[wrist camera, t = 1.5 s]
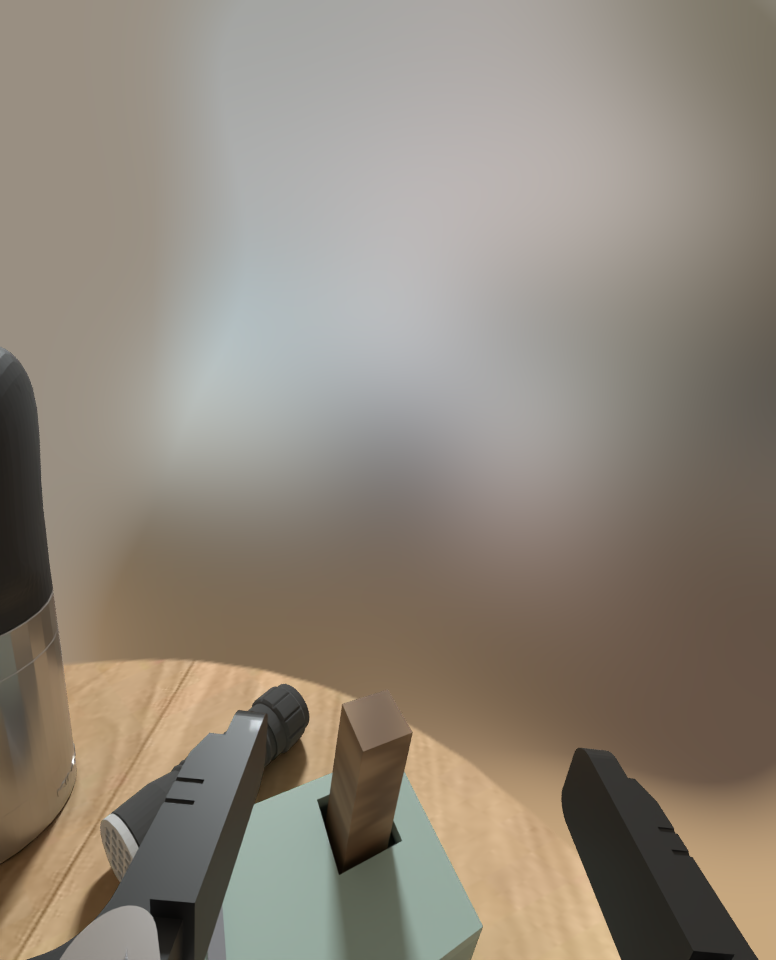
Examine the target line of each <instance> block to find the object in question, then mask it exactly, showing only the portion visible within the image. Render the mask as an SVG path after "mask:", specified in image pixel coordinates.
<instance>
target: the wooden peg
mask: <svg viewBox="0 0 776 960" xmlns="http://www.w3.org/2000/svg"><path fill="white" fill-rule="evenodd" d="M412 733H413V732H412V730H411V729H410V727H409V725H408V724H407V722H406V720H405V718H404V717H403V715H402V713H401V712H400V710H399V708H398V706H397V705H396V703H395V701H394V699H393V698H392V696H391V694H390V692H389V691H388V690H385V691H382V692H379V693H376V694H373V695H369V696H366V697H363V698H360V699H356V700H353V701H350V702H347V703H344V704H342V710H341V717H340V724H339V731H338V738H337V745H336V752H335V759H334V766H333V773H332V780H331V787H330V794H329V801H328V808H327V815H326V822H325V829H326V833H327V836H328V839H329V843H330V846H331V850H332V853H333V857H334V860H335V863H336V867H337V870H338V874H339V875H340V874H342V873H344V872H346V871H348V870H350V869H351V868H353V867H355V866H357V865H359V864H361V863H363V862H364V861H366V860H368V859H370V858H372V857H374V856H375V855H377V854H379V853H381V852H383V851H385V850H386V849H387V847H388V842H389V838H390V833H391V829H392V824H393V819H394V815H395V810H396V806H397V801H398V797H399V792H400V787H401V783H402V778H403V774H404V769H405V765H406V760H407V756H408V751H409V746H410V742H411V737H412Z"/></svg>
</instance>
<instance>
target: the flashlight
mask: <svg viewBox="0 0 776 960" xmlns="http://www.w3.org/2000/svg"><path fill="white" fill-rule="evenodd" d="M248 711H251V712H260V713H267V714H268V724H267V739H266V755H265V764H264V768H265V766H267V765H268V764H269V763H270V761H271V760H274V759H275V758H276V757H277V756H278V755H279V754H280V753H285V752H287V751H288V750H289V749H290V748H291V747H292V746H293V745H294V744H295V743H296V742H297V741H298V740H299V739H300V738H301V737H302V735H303V733H304V731H305V728H306V727H307V725H308V723H309V711H308V708H307V705H306V703H305V701H304V699H303V697H302V696H301V695H300V693H299V692H298V691H297V690H296V689H294V688H293V687H292V686H290V685H287V684H281V685H279V686H278V687H272V688H271V689H269V690H268V691H267V692H266V693H264V694H263V695H262V696H261V697H259V698H258V699H257V700H256V701H255V702H254V703H253V705H252V708H251V709H249V710H248ZM226 732H227V731H226ZM226 732H225V733H224V735H225V734H226ZM187 757H188V756H187ZM186 759H187V758H186ZM186 759H185V760H183V761H181V762H180V764H179V765H177V766H175V767H174V768H173V769H172V771H171V772H170V773H168V774H166V775H164V776H162V777H160V778H158V779H156V780H155V781H153V782H151V783H149V784H147V785H146V786H145V787H144V788H142V789H141V790H140V791H139V792H137V793H136V794H135V795H133V796H132V797H131V798H130V799H128V800H127V801H126V802H125V803H123V804H122V805H121V806H120V807H118V808H117V809H116V810H115V811H113V812H112V813H111V814H109V815H108V816H107V817H106V818H104V819H103V820H102V821H101V826H100V829H101V837H102V842H103V846H104V849H105V852H106V855H107V858H108V861H109V863H110V865H111V867H112V870H113V872H114V874H115V876H116V877H117V879H118V880H119V882H121V880H122V879H123V877H124V875H125V873H126V871H127V869H128V867H129V865H130V864H131V862H132V860H133V858H134V856H135V854H136V852H137V850H138V849H139V847H140V845H141V843H142V841H143V839H144V837H145V836H146V834H147V832H148V830H149V828H150V826H151V824H152V822H153V821H154V819H155V817H156V815H157V813H158V811H159V809H160V807H161V806H162V804H163V803H164V802H165V799H166V796H167V794H168V793H169V791H170V789H171V787H172V785H173V783H174V782H175V781H176V779H177V776H178V774H179V772H180V770H181V768H182V766H183V764H184V763H185V761H186Z"/></svg>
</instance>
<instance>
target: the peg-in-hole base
mask: <svg viewBox="0 0 776 960" xmlns="http://www.w3.org/2000/svg"><path fill="white" fill-rule="evenodd" d="M331 780H332V773H331V774H328V775H326V776H323V777H321V778H318V779H316V780H313V781H311V782H308V783H306V784H303V785H301V786H298V787H296V788H293V789H291V790H288V791H286V792H283V793H281V794H278V795H276V796H273V797H271V798H268V799H266V800H264V801H261V802H259V803H256V804H254V806H253V809H252V812H251V816H250V819H249V822H248V825H247V828H246V831H245V834H244V838H243V841H242V844H241V847H240V850H239V853H238V856H237V860H236V863H235V866H234V869H233V872H232V875H231V879H230V882H229V885H228V888H227V891H226V894H225V897H224V901H223V904H222V907H221V910H220V913H219V916H218V920H217V923H216V926H215V929H214V932H213V935H212V938H211V942H210V945H209V948H208V951H207V954H206V957H205V960H471V958H472V955H473V952H474V950H475V947H476V944H477V941H478V939H479V936H480V933H481V931H482V928H483V925H482V923H481V922H480V920H479V918H478V916H477V914H476V912H475V910H474V908H473V906H472V904H471V902H470V900H469V898H468V896H467V894H466V892H465V890H464V888H463V886H462V884H461V882H460V880H459V878H458V876H457V874H456V872H455V870H454V868H453V866H452V864H451V863H450V861H449V859H448V857H447V855H446V853H445V851H444V849H443V847H442V845H441V843H440V841H439V839H438V837H437V835H436V833H435V831H434V829H433V827H432V825H431V823H430V821H429V819H428V817H427V815H426V813H425V811H424V809H423V807H422V806H421V804H420V802H419V800H418V798H417V796H416V794H415V792H414V790H413V788H412V786H411V784H410V782H409V780H408V778H407V776H406V774H405V772H404V774H403V778H402V783H401V787H400V792H399V797H398V801H397V806H396V810H395V815H394V819H393V824H392V829H391V833H390V838H389V842H388V847H387V849H386V850H385V851H383V852H381V853H379V854H377V855H375V856H374V857H372V858H370V859H368V860H366V861H364V862H363V863H361V864H359V865H357V866H355V867H353V868H351V869H350V870H348V871H346V872H344V873H342V874H340V875H339V874H338V870H337V867H336V863H335V860H334V857H333V853H332V850H331V846H330V843H329V839H328V836H327V833H326V829H325V822H326V815H327V808H328V801H329V794H330V787H331Z"/></svg>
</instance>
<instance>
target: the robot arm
mask: <svg viewBox="0 0 776 960" xmlns="http://www.w3.org/2000/svg"><path fill="white" fill-rule="evenodd" d="M267 724H268V714H267V713H260V712H251V711H242V710H238V711H237V712H236V713H235V715H234V717H233V719H232V721H231V724H230V726H229V728H228V730H227V732H226V734H225V735H224V734H214V733H209V734H208V735H207V736H206V737H205V738H204V739H203V740H202V741H201V742H200V743H199V744H198V745H197V746H196V747H195V748H194V749H193V750H192V751H191V752H190V753H189V755H188V757H187V759H186V761H185V763H184V764H183V766H182V768H181V770H180V772H179V774H178V776H177V779H176V781H175V782H174V783H173V785H172V787H171V789H170V791H169V793H168V794H167V796H166V799H165V802H164V803H163V804H162V806H161V807H160V809H159V811H158V813H157V815H156V817H155V819H154V821H153V822H152V824H151V826H150V828H149V830H148V832H147V834H146V836H145V837H144V839H143V841H142V843H141V845H140V847H139V849H138V850H137V852H136V854H135V856H134V858H133V860H132V862H131V864H130V865H129V867H128V869H127V871H126V873H125V875H124V877H123V879H122V880H121V882H120V884H119V886H118V888H117V890H116V891H115V893H114V895H113V896H112V898H111V900H110V901H109V902H108V904H107V905H106V906H105V908H104V909H103V910H102V911H101V913H100V914H99V915H98V916H97V917H96V918H95V919H94V920H93V921H92V922H91V923H90V924H89V925H88V926H87V927H86V928H85V929H84V930H83V931H81V932H80V933H79V934H78V935H77V936H75V937H74V938H72V939H71V940H69V941H68V942H67V943H65V944H63V945H62V946H60V947H58V948H56V949H54V950H52V951H50V952H47V953H45V954H42V955H39V956H36V957H33V958H30V959H27V960H205V957H206V954H207V951H208V948H209V945H210V942H211V938H212V935H213V932H214V929H215V926H216V923H217V920H218V916H219V913H220V910H221V907H222V904H223V901H224V897H225V894H226V891H227V888H228V885H229V882H230V879H231V875H232V872H233V869H234V866H235V863H236V860H237V856H238V853H239V850H240V847H241V844H242V841H243V838H244V834H245V831H246V828H247V825H248V822H249V819H250V816H251V812H252V809H253V806H254V803H255V800H256V797H257V793H258V790H259V787H260V783H261V779H262V775H263V770H264V764H265V755H266V739H267ZM75 756H76V754H75V746H74V743H73V737H72V729H71V721H70V714H69V706H68V698H67V691H66V683H65V676H64V668H63V661H62V653H61V645H60V639H59V631H58V623H57V616H56V608H55V601H54V593H53V586H52V579H51V572H50V564H49V555H48V547H47V538H46V528H45V520H44V512H43V500H42V487H41V465H40V440H39V426H38V415H37V407H36V402H35V398H34V392H33V388H32V385H31V382H30V379H29V377H28V375H27V373H26V371H25V369H24V368H23V366H22V365H21V363H20V362H19V361H18V359H16V357H15V356H14V355H13V354H12V353H10V352H9V351H7V350H6V349H4V348H2V347H0V864H1V863H2V862H4V861H5V860H7V859H8V858H10V857H11V856H13V855H14V854H16V853H17V852H19V851H20V850H21V849H23V848H24V847H25V846H26V845H28V844H29V843H30V842H31V841H32V840H34V839H35V838H36V837H37V836H38V835H39V834H40V833H41V832H42V831H43V830H44V829H45V828H46V827H47V826H48V825H49V824H50V823H51V822H52V821H53V820H54V818H55V817H56V816H57V814H58V813H59V812H60V811H61V809H62V808H63V806H64V805H65V803H66V801H67V800H68V798H69V796H70V794H71V792H72V789H73V786H74V784H75V781H76V772H77V768H76V760H75ZM562 809H563V814H564V818H565V821H566V824H567V826H568V829H569V831H570V833H571V836H572V839H573V841H574V844H575V846H576V849H577V851H578V854H579V856H580V859H581V861H582V863H583V866H584V868H585V871H586V873H587V876H588V878H589V881H590V883H591V886H592V888H593V891H594V893H595V896H596V898H597V901H598V903H599V906H600V908H601V911H602V913H603V916H604V918H605V920H606V923H607V925H608V928H609V930H610V933H611V935H612V938H613V940H614V943H615V945H616V948H617V950H618V953H619V955H620V958H621V960H758V958H757V957H756V955H755V954H754V952H753V951H752V949H751V948H750V946H749V945H748V943H747V942H746V940H745V938H744V937H743V936H742V934H741V932H740V931H739V929H738V928H737V926H736V924H735V923H734V921H733V920H732V918H731V917H730V915H729V914H728V912H727V910H726V909H725V907H724V906H723V904H722V903H721V901H720V900H719V898H718V896H717V895H716V893H715V892H714V890H713V889H712V887H711V885H710V884H709V882H708V881H707V879H706V878H705V876H704V874H703V873H702V871H701V870H700V868H699V867H698V865H697V864H696V862H695V860H694V859H693V857H690V856H689V853H688V850H687V848H686V846H685V845H684V843H683V842H682V840H681V839H680V837H679V835H678V834H675V832H674V828H673V826H672V824H671V823H670V821H669V820H668V818H667V817H666V815H665V814H664V812H663V810H662V809H661V807H660V806H659V804H658V803H657V801H656V800H655V799H654V798H653V797H652V796H651V795H650V794H649V793H648V792H647V791H646V790H645V789H644V788H643V787H642V786H641V785H640V784H639V783H638V782H637V781H636V780H635V779H631V778H627V776H626V774H625V772H624V771H623V769H622V767H621V766H620V764H619V763H618V761H617V759H616V758H615V756H614V755H613V754H612V753H610V752H609V751H604V750H594V749H585V748H578V749H576V751H575V753H574V756H573V759H572V762H571V765H570V768H569V771H568V774H567V777H566V780H565V783H564V786H563V790H562Z"/></svg>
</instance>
